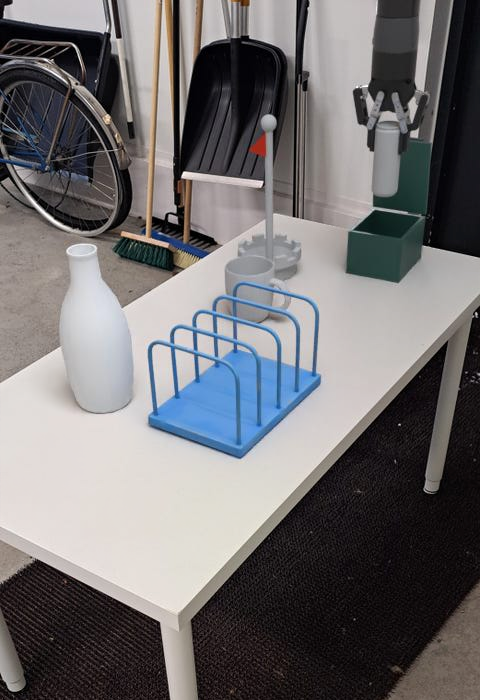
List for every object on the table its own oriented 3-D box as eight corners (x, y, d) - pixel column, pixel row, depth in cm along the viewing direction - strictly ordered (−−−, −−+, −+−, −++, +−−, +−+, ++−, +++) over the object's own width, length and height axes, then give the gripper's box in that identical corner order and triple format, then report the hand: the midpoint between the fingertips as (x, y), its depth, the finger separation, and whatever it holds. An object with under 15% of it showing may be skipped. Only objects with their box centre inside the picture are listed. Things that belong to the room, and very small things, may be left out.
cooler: (398, 282, 170) (402, 240, 165) (345, 272, 174) (348, 230, 169) (421, 257, 179) (425, 216, 173) (370, 248, 183) (373, 208, 178)
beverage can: (396, 188, 160) (402, 120, 152) (397, 197, 156) (404, 128, 149) (370, 188, 161) (375, 120, 153) (371, 197, 157) (376, 128, 149)
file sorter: (240, 459, 127) (237, 368, 116) (147, 427, 134) (137, 338, 124) (321, 383, 142) (324, 297, 132) (234, 357, 150) (231, 274, 140)
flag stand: (269, 252, 183) (268, 100, 164) (314, 269, 176) (318, 113, 156) (225, 271, 177) (218, 115, 157) (269, 290, 169) (268, 129, 150)
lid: (430, 144, 162) (439, 133, 165) (374, 137, 167) (384, 126, 170) (425, 215, 173) (433, 203, 176) (372, 206, 177) (381, 195, 180)
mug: (218, 321, 160) (216, 270, 153) (239, 302, 166) (238, 252, 159) (280, 334, 155) (280, 282, 149) (299, 314, 161) (300, 263, 155)
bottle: (111, 425, 135) (87, 271, 118) (56, 406, 139) (26, 256, 123) (152, 392, 142) (135, 242, 125) (99, 375, 146) (76, 229, 130)
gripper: (443, 43, 142) (432, 150, 154) (363, 38, 148) (357, 141, 159) (429, 53, 138) (418, 163, 149) (346, 47, 143) (342, 153, 154)
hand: (387, 151), depth 154 cm, fingers closed on beverage can, 5 cm apart
